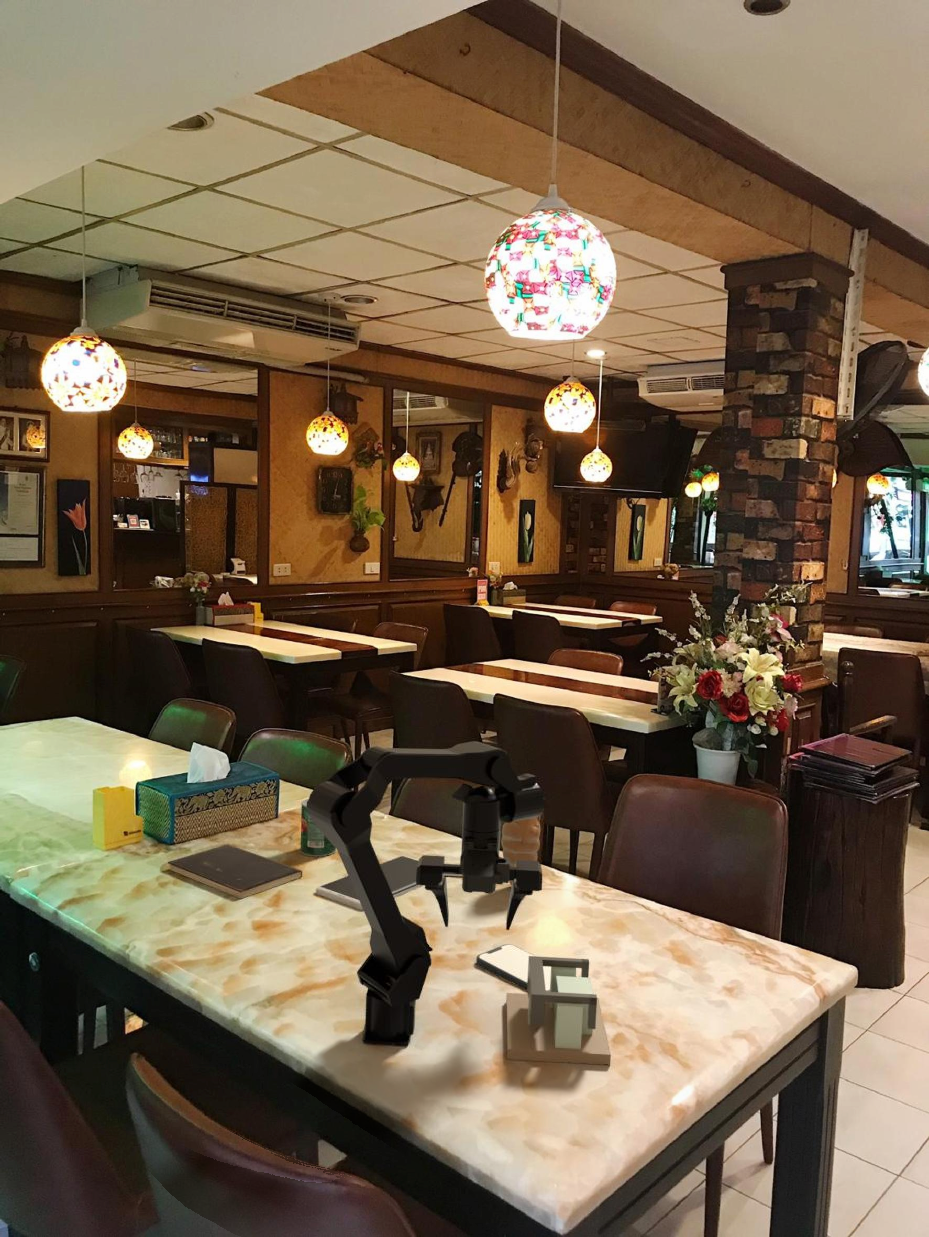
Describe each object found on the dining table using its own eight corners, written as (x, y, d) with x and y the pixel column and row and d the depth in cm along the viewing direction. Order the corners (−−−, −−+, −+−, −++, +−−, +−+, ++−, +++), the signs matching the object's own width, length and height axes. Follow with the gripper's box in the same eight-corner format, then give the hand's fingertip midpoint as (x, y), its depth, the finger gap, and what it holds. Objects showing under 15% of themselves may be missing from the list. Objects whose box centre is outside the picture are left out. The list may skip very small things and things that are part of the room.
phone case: (580, 986, 154) (508, 950, 166) (581, 976, 154) (509, 941, 165) (544, 1003, 148) (472, 965, 159) (545, 993, 148) (472, 956, 159)
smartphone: (451, 876, 201) (451, 868, 201) (364, 913, 179) (364, 904, 179) (402, 861, 209) (403, 854, 209) (313, 895, 187) (314, 887, 187)
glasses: (530, 1025, 132) (531, 994, 132) (527, 984, 144) (528, 955, 144) (595, 1029, 132) (597, 997, 131) (587, 987, 144) (588, 959, 143)
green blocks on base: (507, 1059, 131) (510, 1006, 130) (506, 1002, 146) (508, 955, 146) (610, 1065, 130) (613, 1012, 129) (597, 1007, 146) (600, 960, 145)
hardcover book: (240, 902, 182) (240, 890, 182) (167, 872, 196) (167, 861, 196) (302, 879, 195) (302, 869, 195) (229, 853, 209) (230, 843, 209)
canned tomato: (295, 847, 213) (297, 799, 212) (329, 843, 217) (331, 796, 216) (305, 858, 206) (306, 808, 205) (340, 854, 209) (342, 805, 208)
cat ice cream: (522, 898, 188) (526, 809, 187) (490, 888, 193) (494, 801, 191) (546, 886, 195) (550, 800, 194) (514, 877, 200) (518, 793, 198)
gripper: (414, 841, 135) (411, 947, 137) (546, 847, 135) (541, 954, 136) (420, 817, 146) (417, 916, 148) (542, 823, 146) (537, 922, 147)
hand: (477, 927), depth 145 cm, fingers open, 9 cm apart
